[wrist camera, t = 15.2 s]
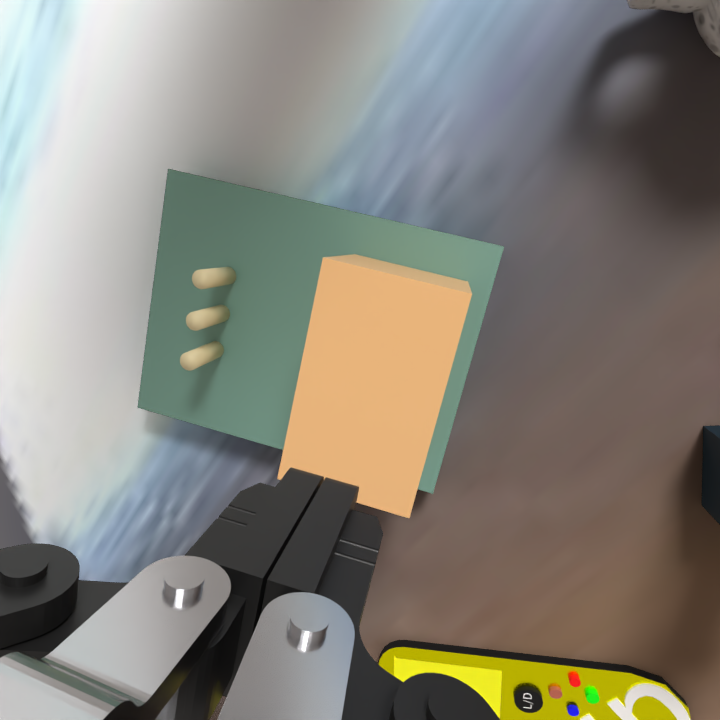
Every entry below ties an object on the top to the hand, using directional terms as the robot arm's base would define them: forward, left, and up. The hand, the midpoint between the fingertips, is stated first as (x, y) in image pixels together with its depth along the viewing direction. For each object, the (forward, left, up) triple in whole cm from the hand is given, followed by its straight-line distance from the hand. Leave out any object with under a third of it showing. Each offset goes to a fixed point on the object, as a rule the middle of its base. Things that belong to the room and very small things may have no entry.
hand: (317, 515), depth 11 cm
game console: (-13, +21, -19) cm, 31 cm away
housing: (0, 0, -16) cm, 16 cm away
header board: (+5, 0, -18) cm, 19 cm away
